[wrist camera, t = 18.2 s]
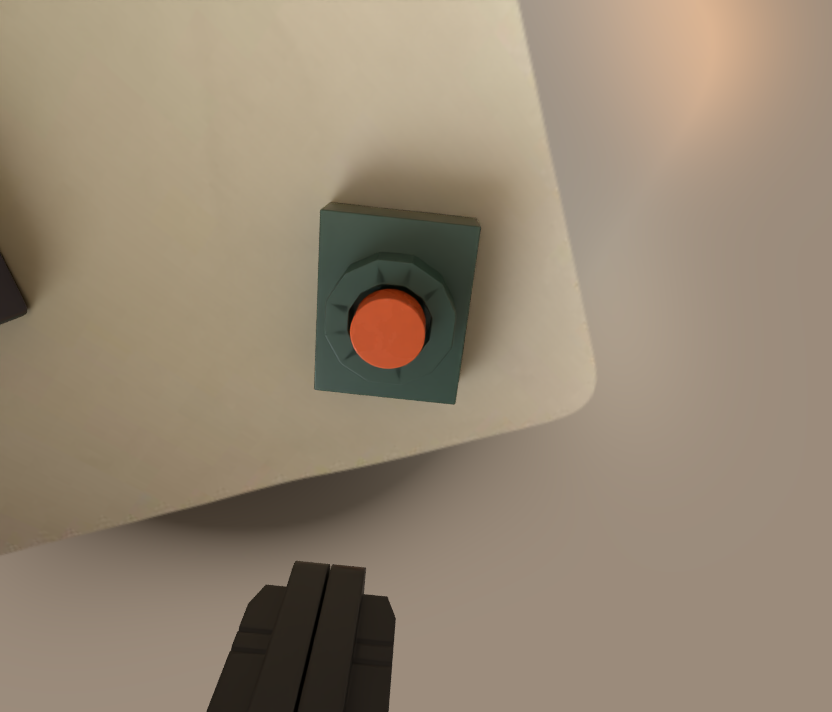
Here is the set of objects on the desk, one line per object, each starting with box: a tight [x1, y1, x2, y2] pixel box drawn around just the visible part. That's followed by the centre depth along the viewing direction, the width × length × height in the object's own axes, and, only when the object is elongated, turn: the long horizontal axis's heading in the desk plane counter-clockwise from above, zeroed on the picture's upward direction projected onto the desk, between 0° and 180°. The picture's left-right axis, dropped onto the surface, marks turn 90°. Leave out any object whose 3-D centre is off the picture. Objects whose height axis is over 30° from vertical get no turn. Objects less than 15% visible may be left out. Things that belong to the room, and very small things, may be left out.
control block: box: [314, 202, 481, 404], centre depth 30 cm, size 8×10×4 cm
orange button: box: [350, 289, 426, 369], centre depth 27 cm, size 4×4×2 cm
